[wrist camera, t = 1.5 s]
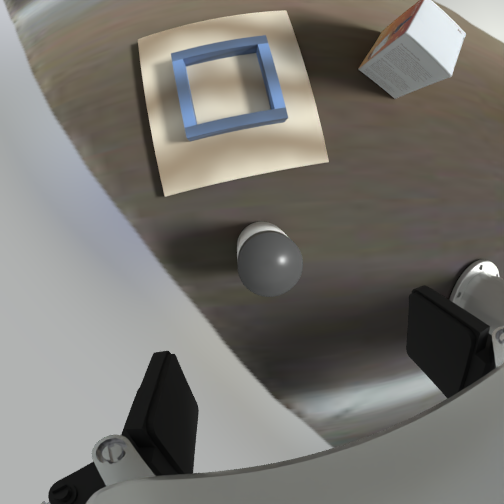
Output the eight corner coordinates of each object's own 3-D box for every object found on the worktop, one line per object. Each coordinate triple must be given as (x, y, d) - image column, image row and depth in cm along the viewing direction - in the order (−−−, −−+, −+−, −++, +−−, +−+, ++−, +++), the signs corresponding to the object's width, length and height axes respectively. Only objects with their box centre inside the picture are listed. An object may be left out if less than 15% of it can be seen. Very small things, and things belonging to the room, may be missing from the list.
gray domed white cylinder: (290, 264, 29) (307, 288, 22) (242, 275, 29) (245, 302, 22) (281, 216, 28) (296, 227, 21) (231, 227, 28) (231, 241, 21)
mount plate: (325, 162, 27) (335, 160, 24) (167, 196, 26) (159, 197, 24) (284, 14, 22) (289, 1, 19) (140, 43, 22) (132, 31, 19)
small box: (380, 31, 23) (425, -7, 13) (415, 60, 24) (467, 33, 14) (355, 69, 24) (404, 31, 14) (394, 100, 25) (452, 77, 15)
